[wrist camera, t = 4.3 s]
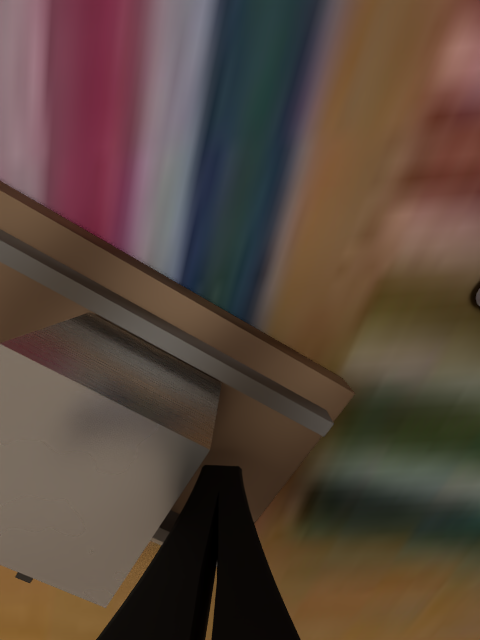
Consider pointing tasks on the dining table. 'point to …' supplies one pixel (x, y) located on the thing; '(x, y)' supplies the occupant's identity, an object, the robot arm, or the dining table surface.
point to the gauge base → (171, 344)
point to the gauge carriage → (93, 451)
